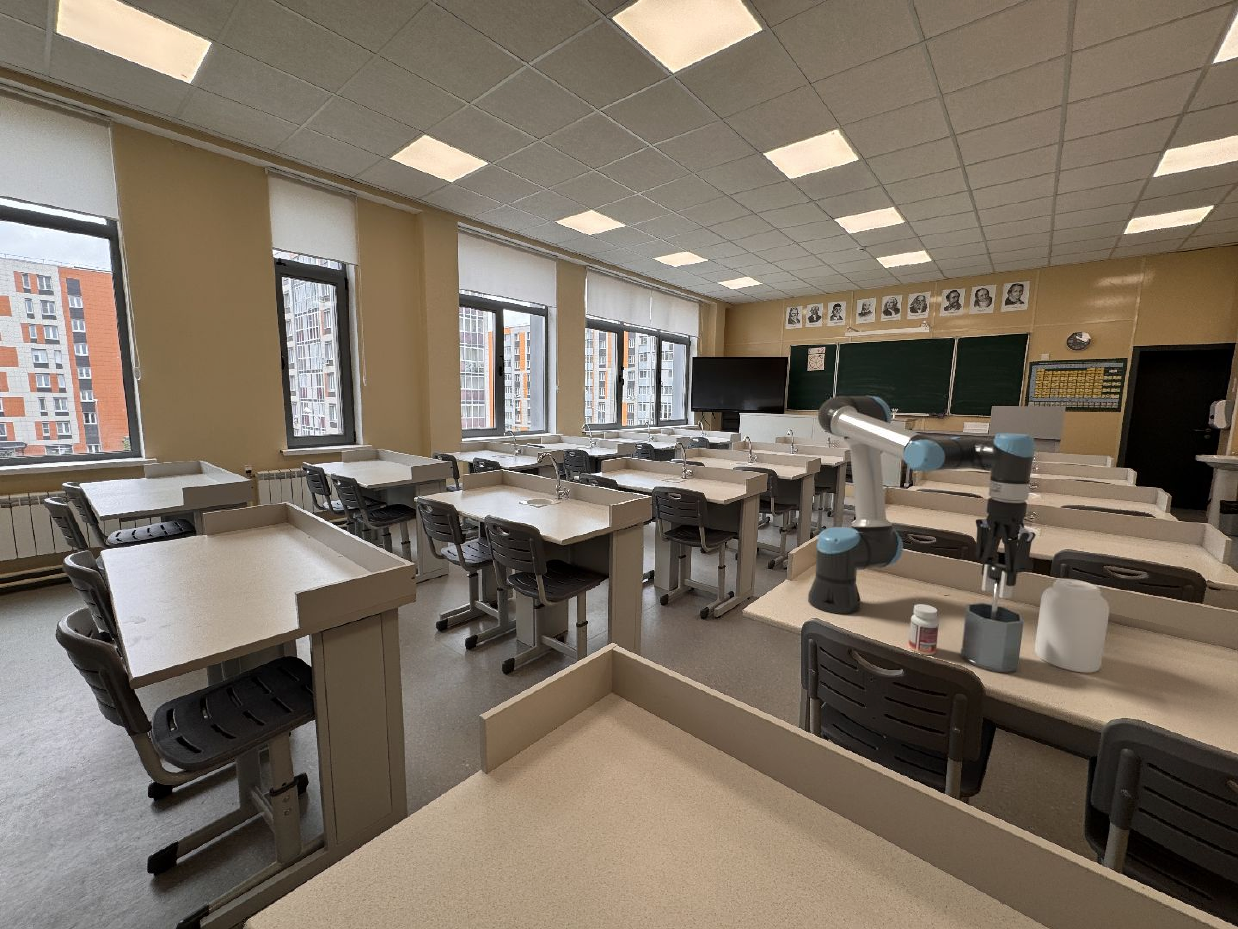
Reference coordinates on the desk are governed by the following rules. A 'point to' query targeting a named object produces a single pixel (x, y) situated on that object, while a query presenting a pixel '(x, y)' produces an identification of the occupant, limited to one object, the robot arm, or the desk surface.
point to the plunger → (996, 575)
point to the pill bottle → (924, 629)
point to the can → (1072, 626)
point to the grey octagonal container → (992, 638)
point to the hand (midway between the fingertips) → (996, 593)
